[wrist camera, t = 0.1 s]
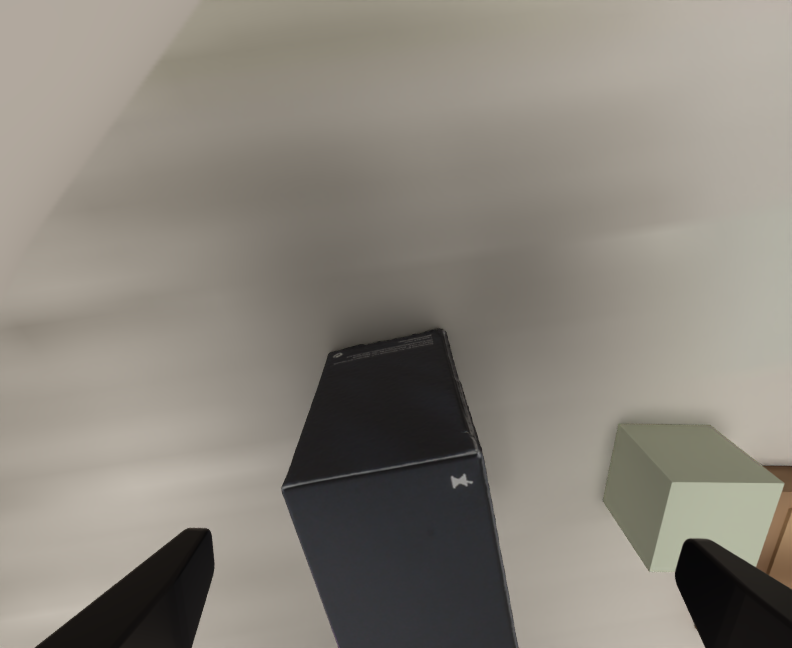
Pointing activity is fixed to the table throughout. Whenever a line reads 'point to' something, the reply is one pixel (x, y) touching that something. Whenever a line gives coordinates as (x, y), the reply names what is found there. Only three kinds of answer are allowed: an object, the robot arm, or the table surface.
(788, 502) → the brown wooden tray
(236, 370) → the table surface
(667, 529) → the sage cube
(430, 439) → the small box
